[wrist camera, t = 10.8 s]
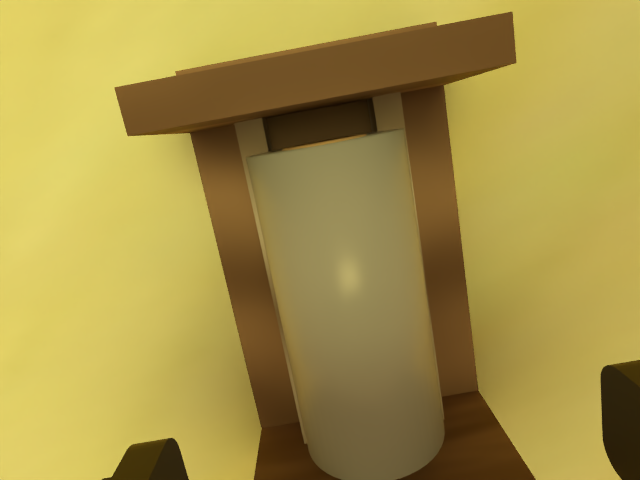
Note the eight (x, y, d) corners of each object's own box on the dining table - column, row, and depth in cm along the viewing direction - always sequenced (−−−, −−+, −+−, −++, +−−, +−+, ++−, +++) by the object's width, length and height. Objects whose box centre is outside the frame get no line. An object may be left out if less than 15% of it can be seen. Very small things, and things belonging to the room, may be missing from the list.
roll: (259, 150, 18) (229, 161, 13) (393, 126, 18) (416, 127, 13) (311, 403, 21) (303, 493, 16) (429, 386, 20) (460, 474, 15)
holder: (182, 74, 19) (101, 40, 11) (429, 27, 18) (508, -38, 11) (273, 456, 23) (257, 609, 16) (475, 420, 23) (554, 559, 15)
